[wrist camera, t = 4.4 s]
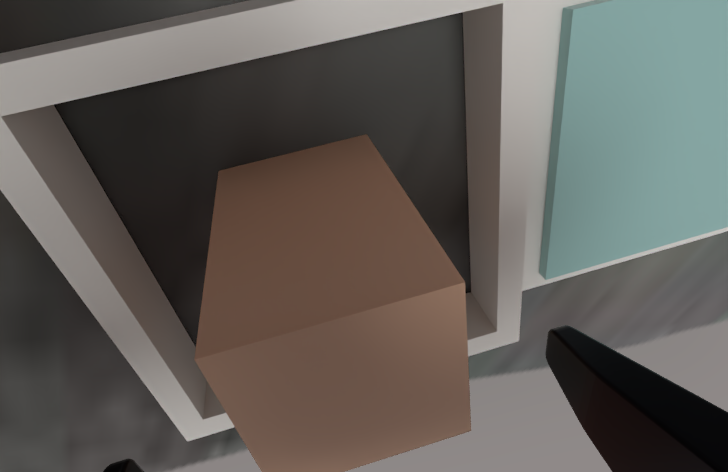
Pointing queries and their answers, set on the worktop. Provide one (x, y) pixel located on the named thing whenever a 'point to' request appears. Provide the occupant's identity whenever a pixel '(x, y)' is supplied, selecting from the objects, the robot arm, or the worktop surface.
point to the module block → (330, 313)
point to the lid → (625, 132)
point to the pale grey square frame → (225, 47)
